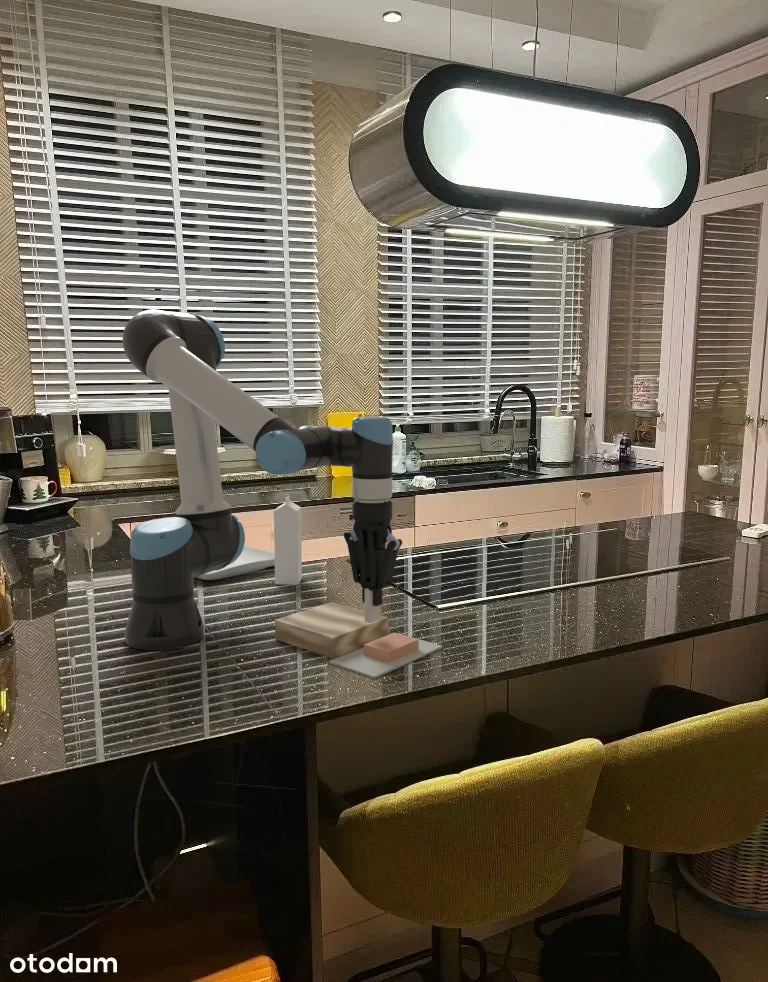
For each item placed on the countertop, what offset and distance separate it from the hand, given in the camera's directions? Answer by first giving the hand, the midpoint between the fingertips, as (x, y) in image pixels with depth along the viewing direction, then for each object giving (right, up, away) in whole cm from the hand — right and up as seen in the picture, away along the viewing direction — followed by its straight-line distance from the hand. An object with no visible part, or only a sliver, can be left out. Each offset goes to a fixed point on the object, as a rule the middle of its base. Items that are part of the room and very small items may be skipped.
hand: (372, 620), depth 144 cm
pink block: (+4, -4, -3) cm, 6 cm away
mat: (+3, -6, -3) cm, 7 cm away
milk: (-22, +2, +48) cm, 53 cm away
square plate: (-43, +3, +62) cm, 75 cm away
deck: (-8, -5, +6) cm, 11 cm away
